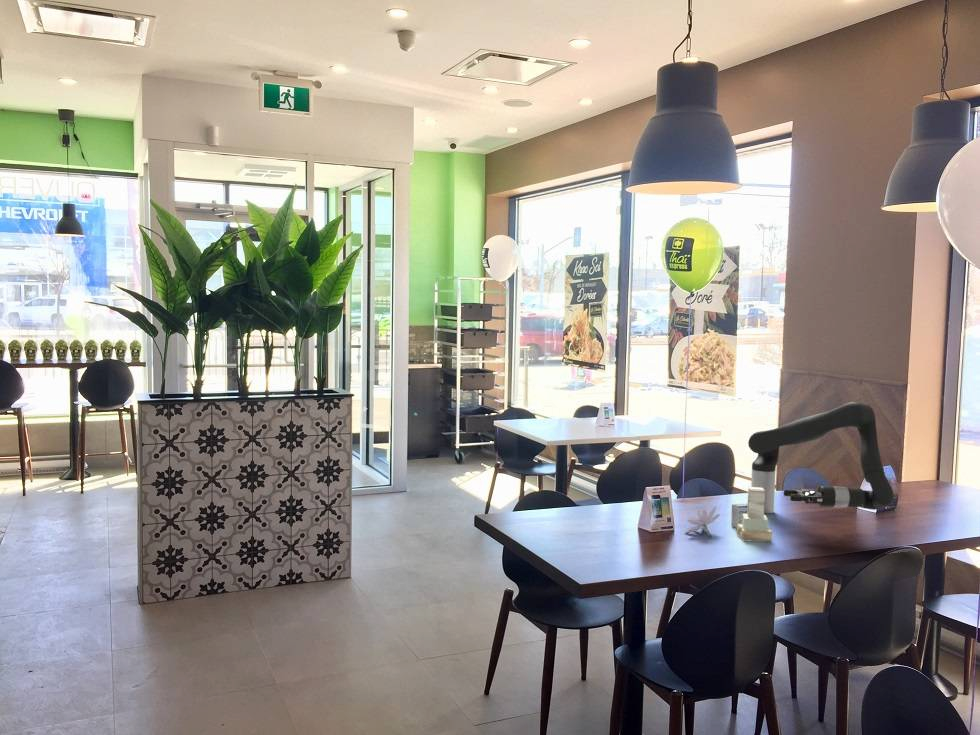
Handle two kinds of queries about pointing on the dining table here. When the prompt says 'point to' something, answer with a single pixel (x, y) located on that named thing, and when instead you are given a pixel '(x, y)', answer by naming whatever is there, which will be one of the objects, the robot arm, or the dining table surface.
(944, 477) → the dining table surface
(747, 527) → the tower top block
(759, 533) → the tower base block
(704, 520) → the water lily
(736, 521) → the medicine box
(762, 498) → the tall white block
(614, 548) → the dining table surface
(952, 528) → the dining table surface
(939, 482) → the dining table surface
